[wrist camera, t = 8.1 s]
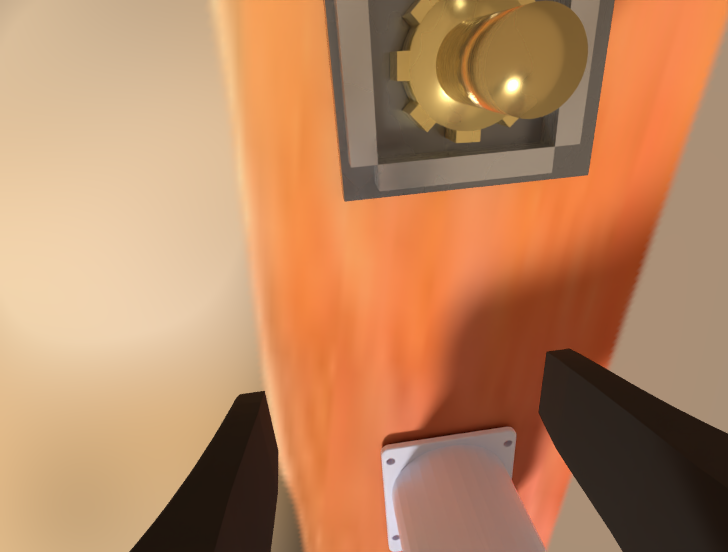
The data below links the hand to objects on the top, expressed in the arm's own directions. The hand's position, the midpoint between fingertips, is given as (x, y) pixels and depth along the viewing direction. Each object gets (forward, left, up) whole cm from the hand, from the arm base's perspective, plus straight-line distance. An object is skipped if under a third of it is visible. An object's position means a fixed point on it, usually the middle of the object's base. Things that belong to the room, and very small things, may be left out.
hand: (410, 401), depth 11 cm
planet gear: (+8, -4, -9) cm, 12 cm away
